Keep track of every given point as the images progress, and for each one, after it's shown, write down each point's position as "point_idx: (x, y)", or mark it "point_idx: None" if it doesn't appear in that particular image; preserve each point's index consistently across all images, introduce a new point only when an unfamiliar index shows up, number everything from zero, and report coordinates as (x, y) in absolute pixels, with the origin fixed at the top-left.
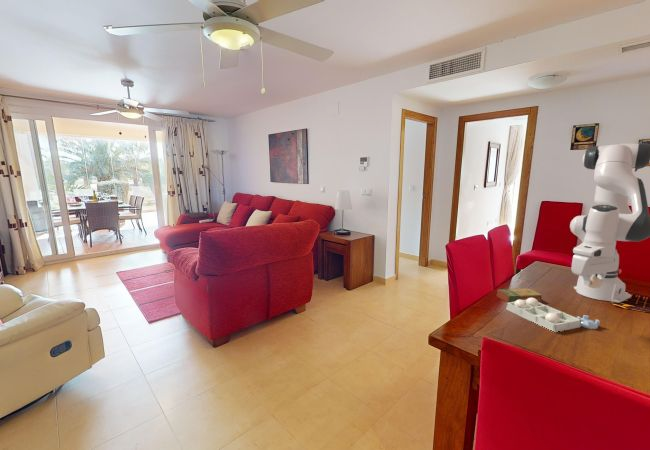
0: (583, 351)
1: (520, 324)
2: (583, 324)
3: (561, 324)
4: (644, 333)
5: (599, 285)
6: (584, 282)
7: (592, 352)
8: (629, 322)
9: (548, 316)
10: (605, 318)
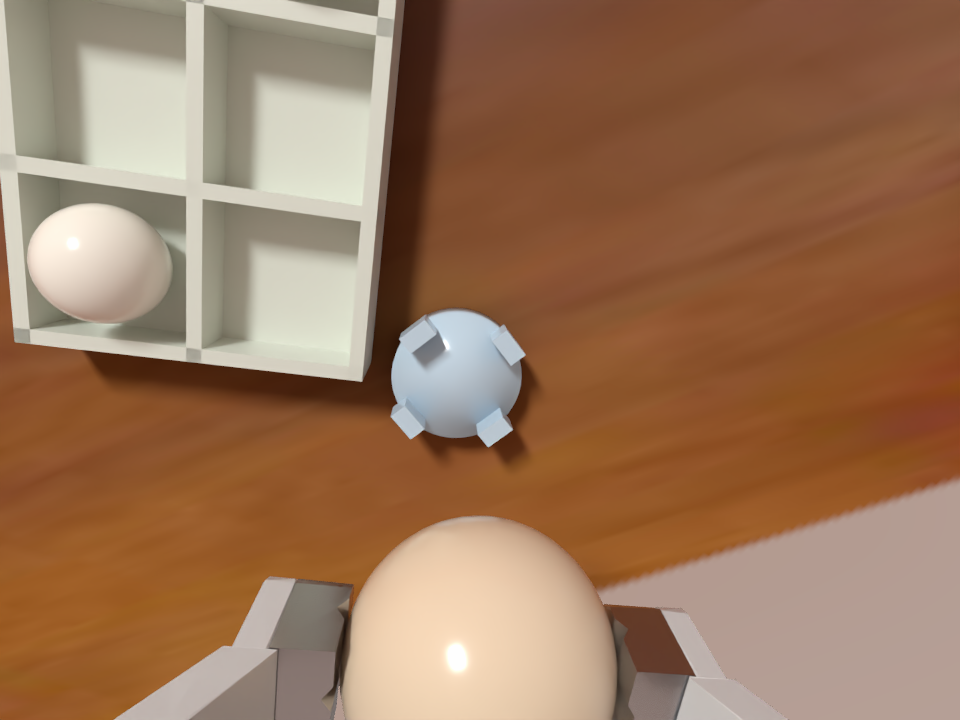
0: (18, 537)
1: None
2: (391, 375)
3: (101, 350)
4: (663, 571)
5: None
6: (256, 607)
7: (65, 562)
8: (785, 469)
9: (27, 253)
10: (722, 368)
